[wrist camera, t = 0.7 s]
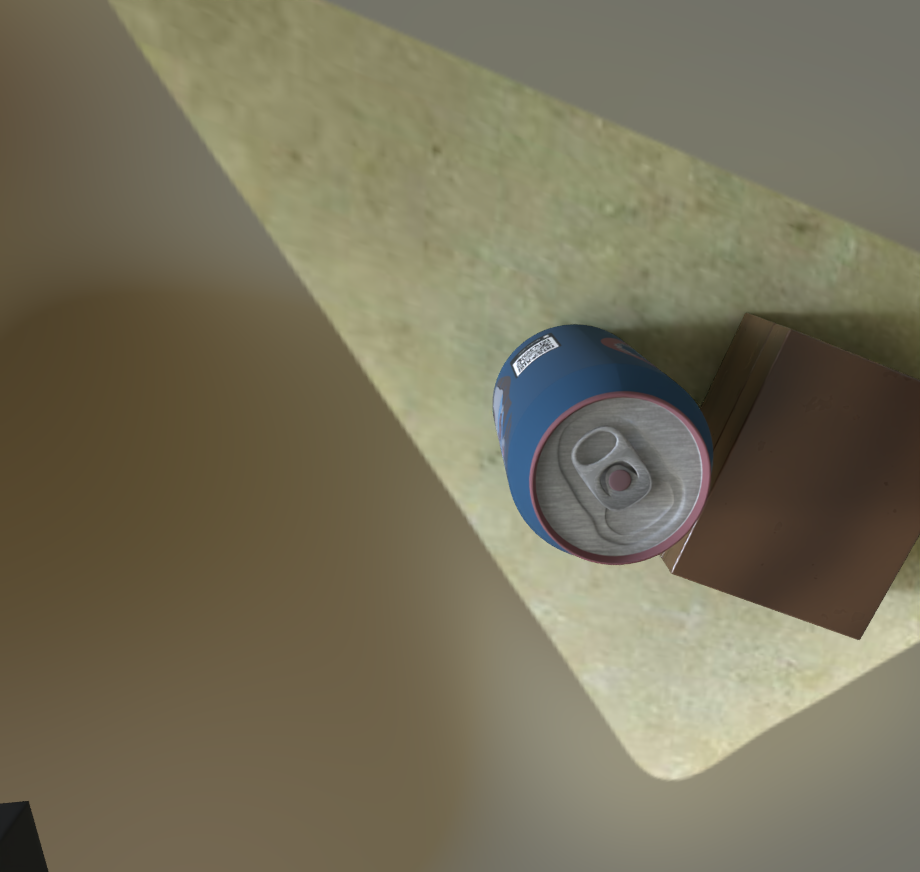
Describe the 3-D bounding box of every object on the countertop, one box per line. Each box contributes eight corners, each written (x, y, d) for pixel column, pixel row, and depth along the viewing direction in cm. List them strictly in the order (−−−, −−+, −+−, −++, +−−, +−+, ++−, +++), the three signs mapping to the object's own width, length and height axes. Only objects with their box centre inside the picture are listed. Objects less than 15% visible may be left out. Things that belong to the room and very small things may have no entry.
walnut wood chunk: (643, 528, 39) (670, 574, 34) (745, 312, 37) (790, 328, 32) (810, 589, 40) (860, 641, 35) (922, 382, 38) (992, 408, 33)
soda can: (672, 411, 38) (772, 503, 26) (547, 497, 39) (590, 621, 27) (588, 288, 36) (654, 328, 25) (460, 380, 37) (467, 460, 26)
